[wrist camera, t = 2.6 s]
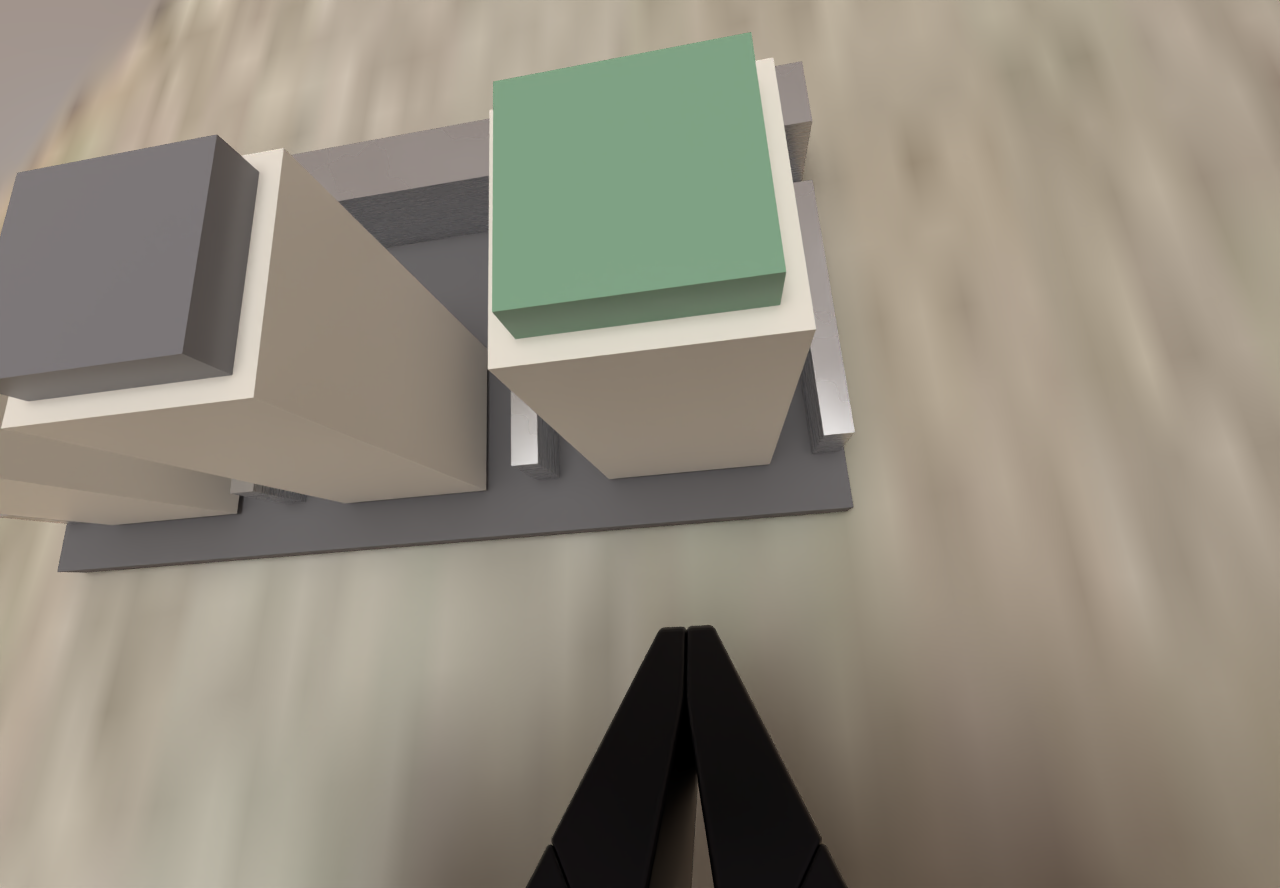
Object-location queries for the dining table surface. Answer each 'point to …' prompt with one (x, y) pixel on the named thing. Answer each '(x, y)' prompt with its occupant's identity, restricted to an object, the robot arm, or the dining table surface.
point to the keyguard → (459, 205)
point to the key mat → (510, 494)
